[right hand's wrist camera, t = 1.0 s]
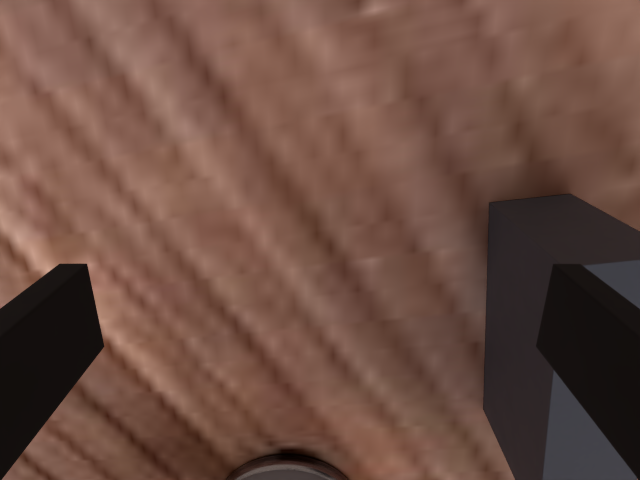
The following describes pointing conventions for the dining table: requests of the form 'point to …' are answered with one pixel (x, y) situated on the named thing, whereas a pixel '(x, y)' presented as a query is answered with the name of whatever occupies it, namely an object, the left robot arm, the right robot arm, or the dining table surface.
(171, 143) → the dining table surface
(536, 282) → the box
